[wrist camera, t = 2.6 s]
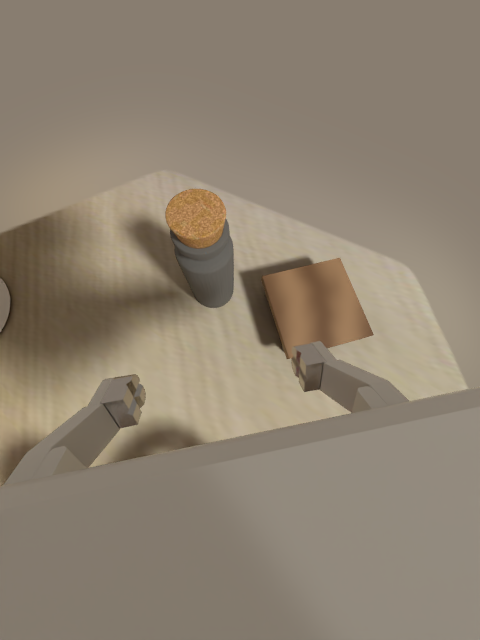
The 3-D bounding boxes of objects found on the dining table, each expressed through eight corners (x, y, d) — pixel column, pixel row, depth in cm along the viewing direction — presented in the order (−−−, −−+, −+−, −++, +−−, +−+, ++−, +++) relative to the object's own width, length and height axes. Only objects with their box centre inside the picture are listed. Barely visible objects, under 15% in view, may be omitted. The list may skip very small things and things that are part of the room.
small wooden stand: (281, 360, 28) (289, 358, 24) (258, 288, 31) (262, 276, 27) (355, 340, 29) (373, 335, 25) (326, 272, 32) (339, 257, 28)
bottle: (186, 283, 31) (144, 200, 16) (221, 265, 31) (210, 172, 17) (206, 315, 29) (179, 258, 15) (241, 295, 30) (247, 223, 16)
